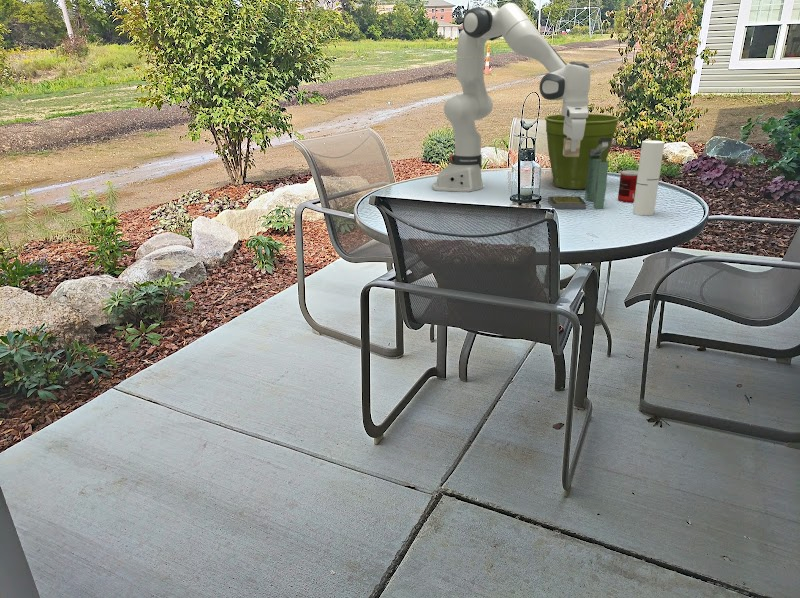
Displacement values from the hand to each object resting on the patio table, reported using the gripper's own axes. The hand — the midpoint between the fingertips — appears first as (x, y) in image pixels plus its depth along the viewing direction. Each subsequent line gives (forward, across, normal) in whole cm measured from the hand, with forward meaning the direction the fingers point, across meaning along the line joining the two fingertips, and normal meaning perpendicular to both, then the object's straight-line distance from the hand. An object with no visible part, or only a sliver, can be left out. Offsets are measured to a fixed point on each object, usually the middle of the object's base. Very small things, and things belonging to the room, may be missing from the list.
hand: (571, 149), depth 216 cm
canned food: (+21, -8, +25) cm, 34 cm away
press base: (+21, -2, +4) cm, 21 cm away
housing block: (+2, 0, 0) cm, 2 cm away
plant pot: (+21, -36, +10) cm, 43 cm away
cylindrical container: (+21, +12, +25) cm, 35 cm away
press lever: (+2, -2, +11) cm, 11 cm away
